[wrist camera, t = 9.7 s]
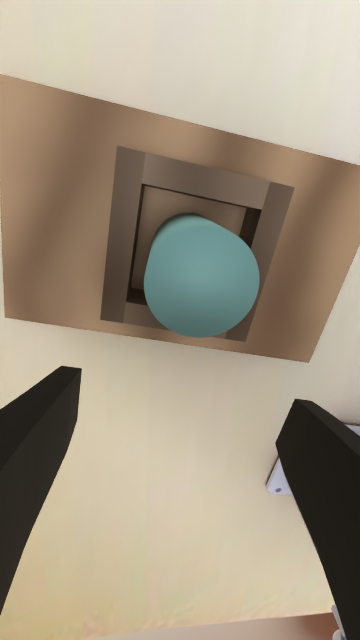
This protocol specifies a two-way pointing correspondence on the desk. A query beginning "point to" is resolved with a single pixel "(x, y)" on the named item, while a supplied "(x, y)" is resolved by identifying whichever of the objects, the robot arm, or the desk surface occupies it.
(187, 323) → the teal peg
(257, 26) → the desk surface
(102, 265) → the peg stand
